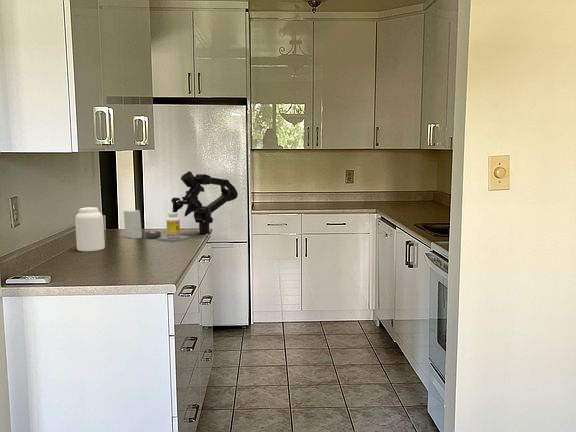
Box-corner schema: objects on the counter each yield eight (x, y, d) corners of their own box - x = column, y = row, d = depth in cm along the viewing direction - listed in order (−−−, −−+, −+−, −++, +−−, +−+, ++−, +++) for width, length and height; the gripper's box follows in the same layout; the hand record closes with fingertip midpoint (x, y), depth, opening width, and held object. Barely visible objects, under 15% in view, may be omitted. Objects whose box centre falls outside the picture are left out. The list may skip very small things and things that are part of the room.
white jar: (104, 250, 253) (102, 208, 250) (76, 252, 249) (73, 209, 247) (105, 246, 265) (102, 205, 262) (77, 248, 261) (75, 207, 258)
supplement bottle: (177, 238, 278) (176, 213, 277) (165, 238, 279) (164, 213, 278) (182, 236, 285) (181, 212, 283) (170, 236, 286) (169, 212, 284)
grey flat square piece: (174, 237, 290) (174, 234, 290) (189, 238, 283) (189, 236, 283) (156, 240, 281) (156, 238, 281) (172, 242, 274) (172, 239, 274)
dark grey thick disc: (145, 237, 292) (145, 231, 291) (161, 236, 293) (160, 230, 293) (144, 239, 284) (144, 233, 283) (160, 238, 285) (160, 232, 285)
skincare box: (142, 237, 289) (141, 210, 288) (132, 239, 285) (130, 211, 283) (134, 236, 295) (133, 209, 294) (124, 237, 291) (123, 210, 289)
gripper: (213, 203, 292) (199, 226, 284) (189, 201, 302) (175, 223, 295) (202, 189, 284) (188, 212, 277) (178, 188, 295) (163, 210, 288)
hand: (178, 215), depth 284 cm, fingers open, 9 cm apart
